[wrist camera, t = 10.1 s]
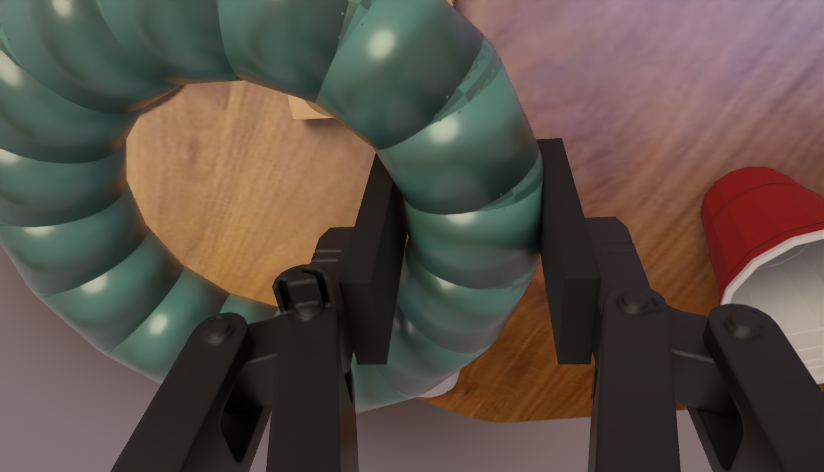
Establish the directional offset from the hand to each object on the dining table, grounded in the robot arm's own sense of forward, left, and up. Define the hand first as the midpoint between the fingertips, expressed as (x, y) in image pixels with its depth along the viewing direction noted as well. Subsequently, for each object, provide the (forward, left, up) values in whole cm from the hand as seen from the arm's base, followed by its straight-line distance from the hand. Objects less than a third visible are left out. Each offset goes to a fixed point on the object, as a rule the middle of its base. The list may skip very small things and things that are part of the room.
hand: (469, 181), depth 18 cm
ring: (0, -6, +2) cm, 7 cm away
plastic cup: (+14, +19, -20) cm, 31 cm away
